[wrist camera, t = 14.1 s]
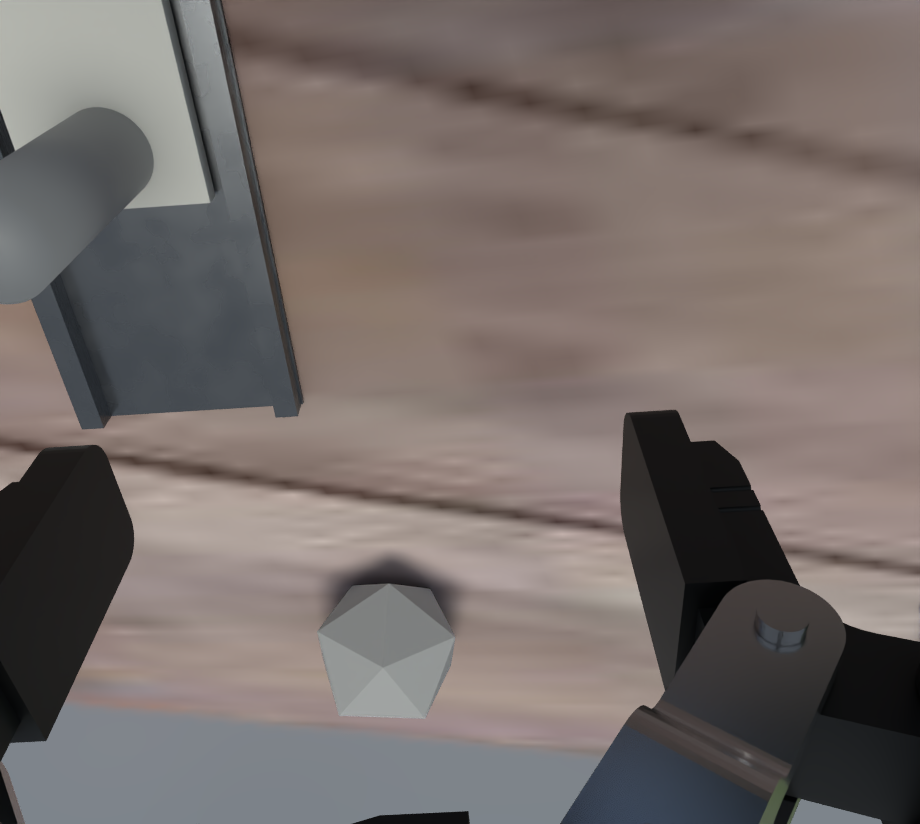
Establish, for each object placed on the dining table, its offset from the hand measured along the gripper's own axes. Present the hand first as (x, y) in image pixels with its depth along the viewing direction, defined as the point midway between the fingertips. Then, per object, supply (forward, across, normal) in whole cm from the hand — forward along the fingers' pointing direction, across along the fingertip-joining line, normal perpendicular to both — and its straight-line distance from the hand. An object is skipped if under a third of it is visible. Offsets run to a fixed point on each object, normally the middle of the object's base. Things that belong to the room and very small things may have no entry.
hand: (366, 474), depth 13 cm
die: (+28, +5, +32) cm, 43 cm away
